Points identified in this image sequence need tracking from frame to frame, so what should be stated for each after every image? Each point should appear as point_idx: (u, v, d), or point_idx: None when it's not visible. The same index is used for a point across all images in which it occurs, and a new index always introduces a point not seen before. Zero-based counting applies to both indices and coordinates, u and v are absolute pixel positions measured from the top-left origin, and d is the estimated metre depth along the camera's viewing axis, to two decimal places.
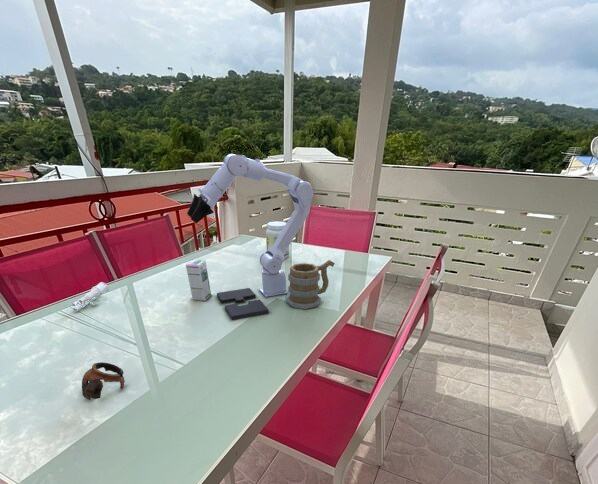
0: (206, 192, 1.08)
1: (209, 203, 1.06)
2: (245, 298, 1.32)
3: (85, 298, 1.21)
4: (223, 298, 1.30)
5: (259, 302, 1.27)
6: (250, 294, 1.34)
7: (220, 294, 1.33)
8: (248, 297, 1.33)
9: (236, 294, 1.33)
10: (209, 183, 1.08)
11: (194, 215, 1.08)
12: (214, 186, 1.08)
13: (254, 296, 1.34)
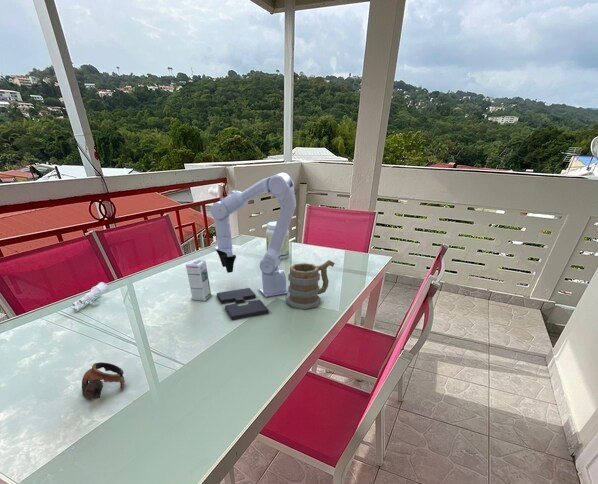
0: (221, 247, 1.29)
1: (229, 255, 1.27)
2: (245, 298, 1.32)
3: (85, 298, 1.21)
4: (223, 298, 1.30)
5: (259, 302, 1.27)
6: (250, 294, 1.34)
7: (220, 294, 1.33)
8: (248, 297, 1.33)
9: (236, 294, 1.33)
10: (218, 239, 1.28)
11: (227, 268, 1.33)
12: (222, 238, 1.27)
13: (254, 296, 1.34)
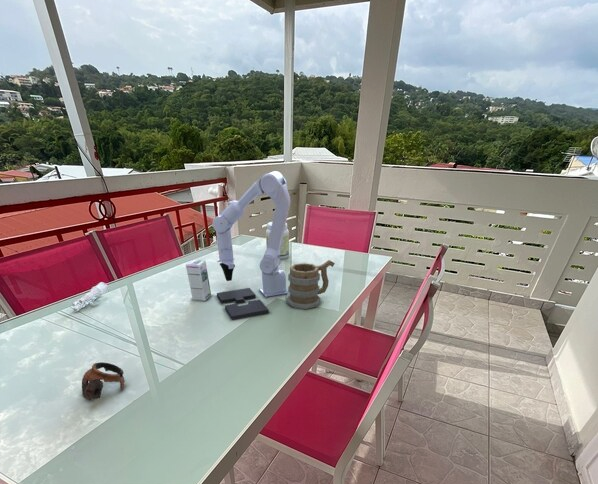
0: (223, 259, 1.32)
1: (230, 267, 1.30)
2: (245, 298, 1.32)
3: (85, 298, 1.21)
4: (223, 298, 1.30)
5: (259, 302, 1.27)
6: (250, 294, 1.34)
7: (220, 294, 1.33)
8: (248, 297, 1.33)
9: (236, 294, 1.33)
10: (219, 251, 1.31)
11: (226, 277, 1.38)
12: (224, 251, 1.30)
13: (254, 296, 1.34)
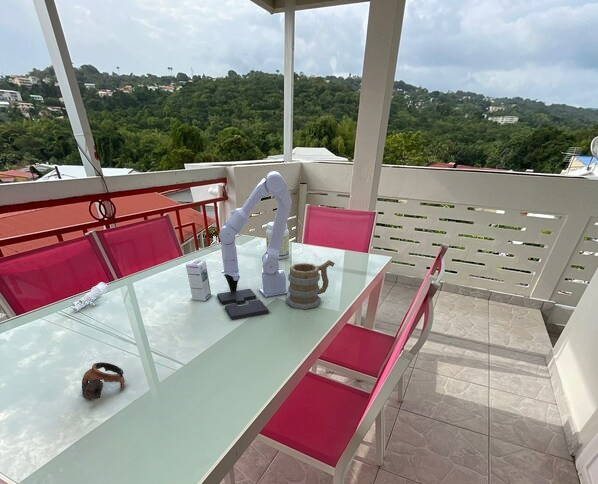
0: (227, 270, 1.29)
1: (235, 279, 1.27)
2: (246, 299, 1.32)
3: (85, 298, 1.21)
4: (223, 299, 1.29)
5: (259, 302, 1.27)
6: (251, 295, 1.33)
7: (220, 295, 1.32)
8: (249, 298, 1.32)
9: (237, 295, 1.33)
10: (224, 263, 1.28)
11: (231, 288, 1.35)
12: (228, 262, 1.27)
13: (255, 297, 1.33)
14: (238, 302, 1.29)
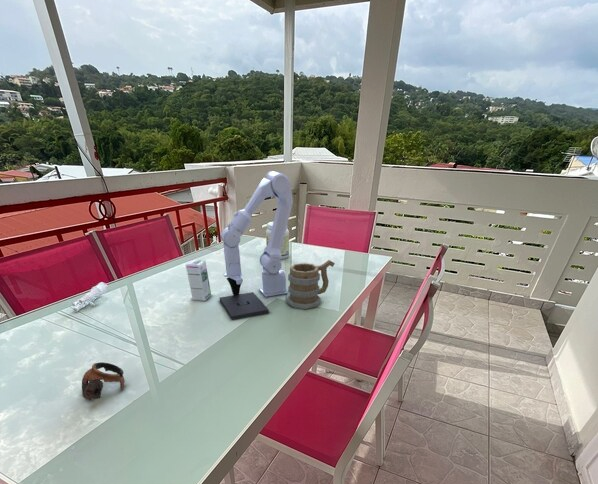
0: (230, 274, 1.26)
1: (238, 283, 1.24)
2: None
3: (85, 298, 1.21)
4: (226, 303, 1.26)
5: (259, 302, 1.27)
6: (254, 299, 1.30)
7: (223, 299, 1.29)
8: None
9: (239, 299, 1.30)
10: (227, 266, 1.25)
11: (234, 292, 1.32)
12: (231, 265, 1.24)
13: None
14: None
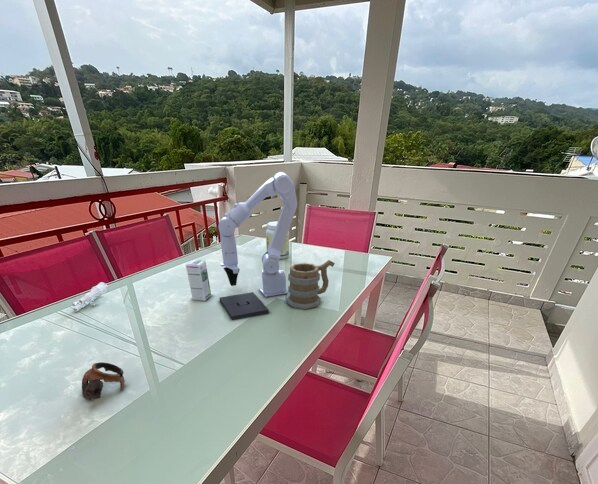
0: (227, 263, 1.27)
1: (235, 272, 1.25)
2: None
3: (85, 298, 1.21)
4: (226, 303, 1.26)
5: (259, 302, 1.27)
6: (254, 299, 1.30)
7: (223, 299, 1.29)
8: None
9: (239, 299, 1.30)
10: (223, 255, 1.26)
11: (231, 282, 1.33)
12: (228, 255, 1.25)
13: None
14: None
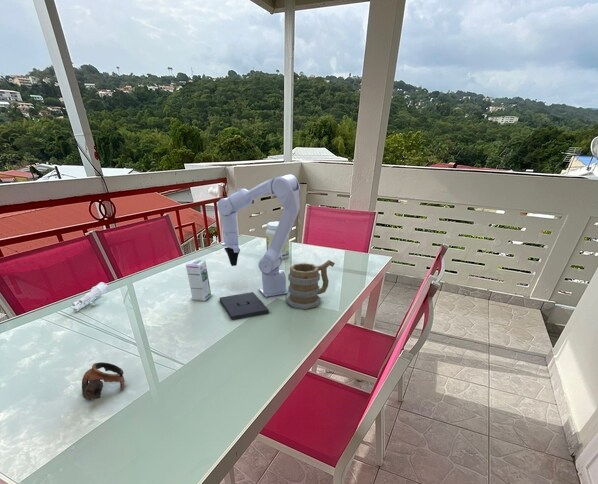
0: (228, 243, 1.31)
1: (235, 251, 1.29)
2: None
3: (85, 298, 1.21)
4: (226, 303, 1.26)
5: (259, 302, 1.27)
6: (254, 299, 1.30)
7: (223, 299, 1.29)
8: None
9: (239, 299, 1.30)
10: (224, 235, 1.30)
11: (231, 262, 1.37)
12: (229, 234, 1.29)
13: None
14: None
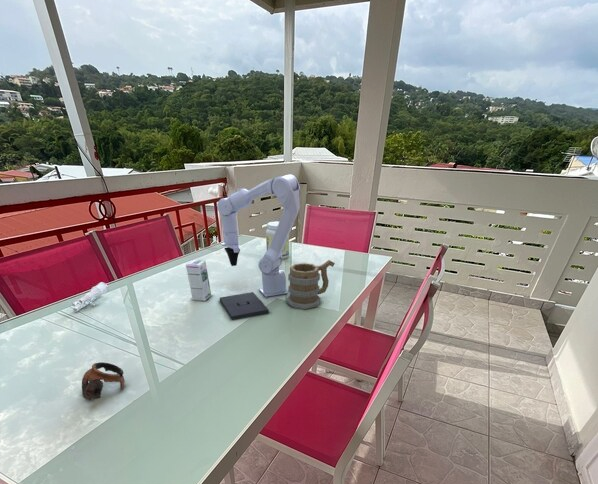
0: (228, 243, 1.31)
1: (235, 251, 1.29)
2: None
3: (85, 298, 1.21)
4: (226, 303, 1.26)
5: (259, 302, 1.27)
6: (254, 299, 1.30)
7: (223, 299, 1.29)
8: None
9: (239, 299, 1.30)
10: (224, 235, 1.30)
11: (231, 262, 1.37)
12: (229, 234, 1.29)
13: None
14: None
